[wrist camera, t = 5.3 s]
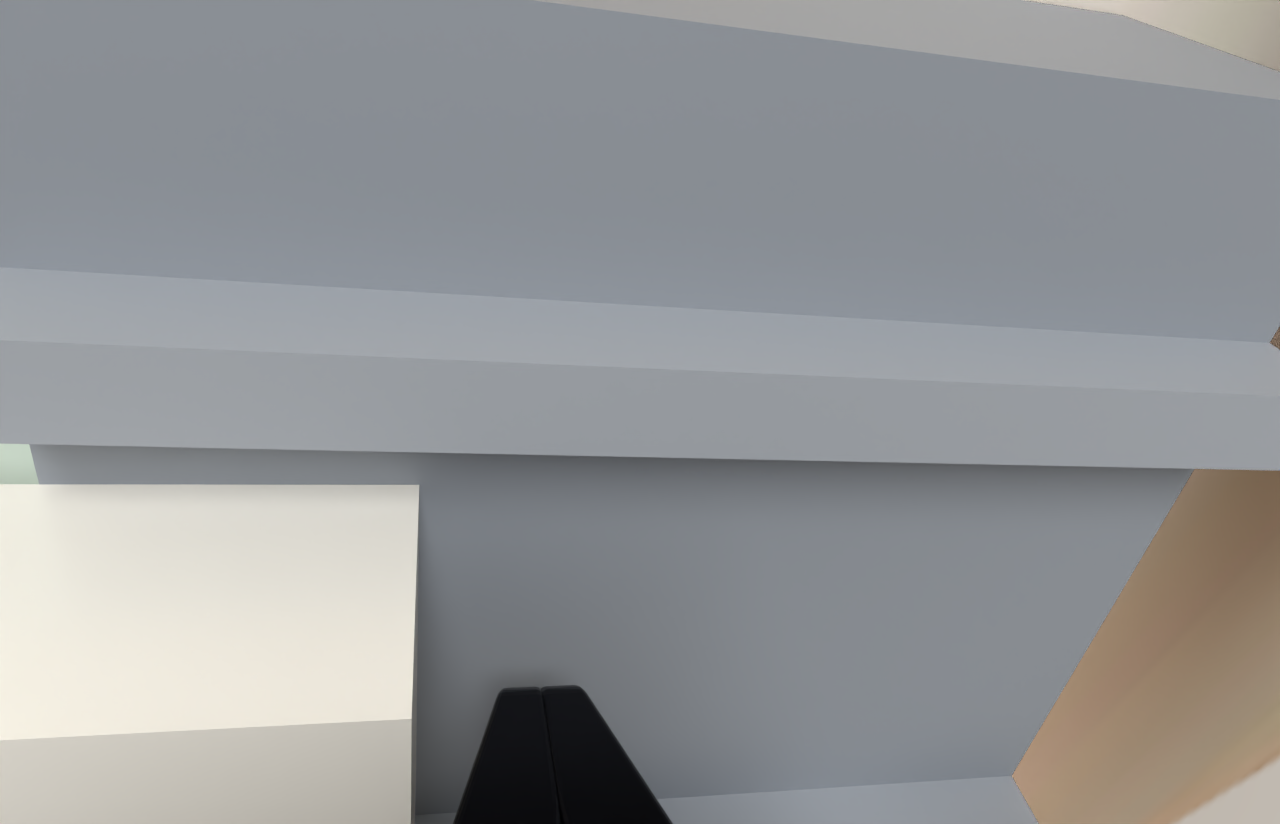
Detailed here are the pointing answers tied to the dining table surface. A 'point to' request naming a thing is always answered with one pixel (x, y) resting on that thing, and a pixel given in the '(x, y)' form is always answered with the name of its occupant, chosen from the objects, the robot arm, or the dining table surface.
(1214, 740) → the dining table surface
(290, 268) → the bench board
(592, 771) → the robot arm
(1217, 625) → the dining table surface
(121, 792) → the tile
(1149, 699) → the dining table surface
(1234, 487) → the dining table surface
